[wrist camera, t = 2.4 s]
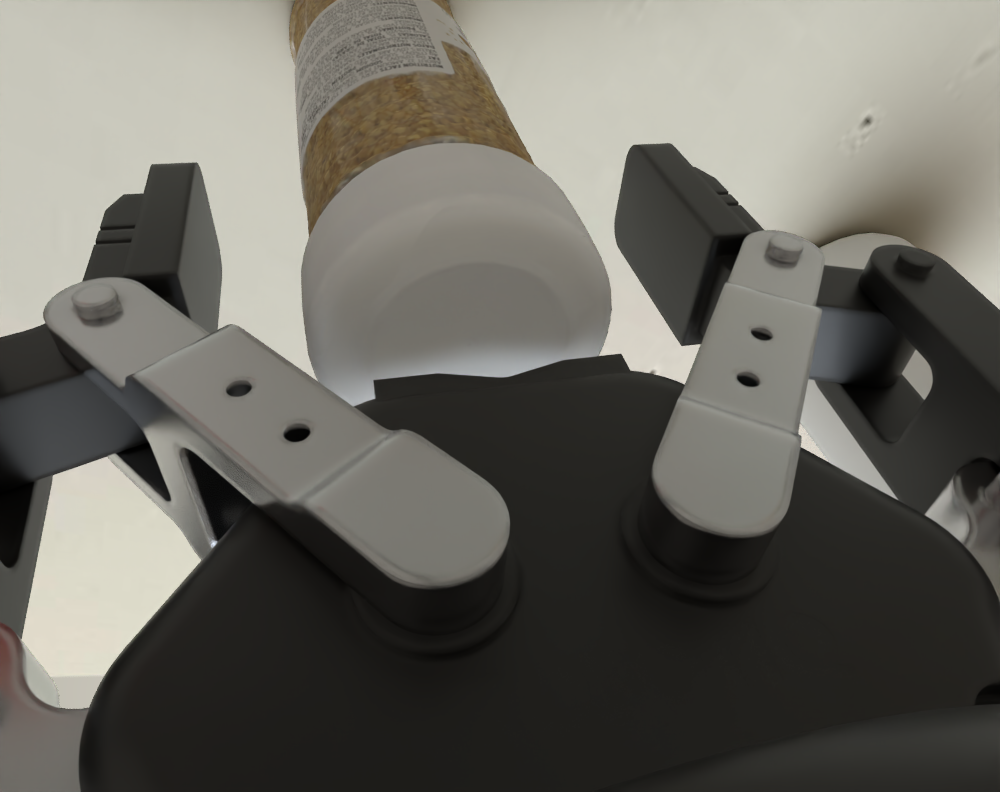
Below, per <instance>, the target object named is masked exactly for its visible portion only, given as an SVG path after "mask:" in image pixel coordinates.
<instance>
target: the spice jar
mask: <svg viewBox="0 0 1000 792" xmlns="http://www.w3.org/2000/svg"><path fill="white" fill-rule="evenodd" d="M289 37H290V49H291V54H292V58H293V61H294V64H295V92H296V113H297V129H298V145H299V158H300V171H301V184H302V192H303V198H304V202H305V205H306V208H307V216H308V230H309V239H308V242H307V246H306V249H305V253H304V256H303V263H302V270H301V285H302V307H303V317H304V325H305V334H306V341H307V348H308V355H309V358H310V361H311V364H312V367H313V370H314V373H315V375H316V378H317V380H318V381H319V383H321V384H322V385H323V386H325V387H326V388H328V389H329V390H331V391H332V392H333V393H335V394H336V395H338V396H339V397H341V398H342V399H343V400H345V401H346V402H348V403H349V404H350V405H352V406H353V407H354V406H356V405H359V404H361V403H363V402H366V401H369V400H372V399H375V394H374V381H373V380H378V379H388V378H397V377H407V376H416V375H426V374H435V373H442V374H456V375H471V376H486V377H510V376H513V375H517V374H520V373H523V372H526V371H529V370H533V369H536V368H539V367H542V366H546V365H549V364H552V363H555V362H558V361H562V360H568V359H577V358H587V357H596V356H599V354H600V352H601V349H602V347H603V345H604V342H605V339H606V336H607V333H608V328H609V324H610V316H611V311H612V306H611V288H610V283H609V278H608V275H607V272H606V269H605V266H604V263H603V261H602V258H601V256H600V254H599V252H598V250H597V248H596V246H595V244H594V243H593V241H592V239H591V237H590V235H589V233H588V231H587V229H586V228H585V226H584V224H583V223H582V221H581V219H580V218H579V216H578V214H577V213H576V211H575V210H574V208H573V206H572V205H571V203H570V202H569V200H568V199H567V197H566V195H565V194H564V192H563V191H562V190H561V189H560V187H559V186H558V185H557V184H556V183H555V182H554V181H553V180H552V179H551V178H550V177H549V176H548V175H547V174H545V173H544V172H543V171H542V170H540V169H539V168H538V167H536V166H535V165H534V163H533V161H532V159H531V156H530V155H529V153H528V152H527V150H526V147H525V146H524V144H523V143H522V141H521V139H520V137H519V135H518V133H517V131H516V130H515V128H514V126H513V124H512V122H511V120H510V118H509V116H508V114H507V111H506V109H505V107H504V105H503V104H502V102H501V100H500V99H499V97H498V96H497V94H496V91H495V89H494V87H493V84H492V82H491V80H490V78H489V76H488V74H487V72H486V71H485V69H484V67H483V66H482V64H481V62H480V60H479V59H478V57H477V55H476V53H475V52H474V50H473V48H472V46H471V45H470V43H469V41H468V39H467V38H466V36H465V35H464V33H463V31H462V30H461V28H460V27H459V26H458V24H457V23H456V22H455V20H454V18H453V15H452V13H451V10H450V7H449V5H448V3H447V1H446V0H296V1H295V4H294V6H293V10H292V14H291V19H290V27H289Z"/></svg>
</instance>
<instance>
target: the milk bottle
mask: <svg viewBox="0 0 1000 792" xmlns="http://www.w3.org/2000/svg"><path fill="white" fill-rule="evenodd" d="M883 245H905V246H911V247H915V246H914V245H912V244H911V243H909V242H908V241H906V240H904V239H902V238H900V237H896V236H892V235H887V234H878V233H865V234H855V235H852V236H849V237H845V238H841V239H838V240H836V241H834V242H831V243H829V244H827V245H824V246H822V247H820V248H819V249H820V250H821V251H822V252H823V254H824V257H825V264H824V265H829V266H838V267H846V268H855V269H863V270H864V268H865V266H866V264H867V262H868V260H869V257H870V255H871V253H872V252H873V250H874V249H876V248H877V247H880V246H883ZM915 248H916V247H915ZM902 375H903V376H904V377H905V378H906V379H907V380H908V382H909V383H910V384H911V385H912V386H913V387H914V389H915V390H916V391H917V392H918V393H919V394H920V396H921V397H922V398H923V399H924V400H925V398H926V397H927V395H928V394H929V392H930V390H931V387H932V382H933V377H932V371H931V368H930V366H929V364H928V362H927V361H926V360H925V359H924V358H923V357H922V355H921V354H920V353H919V352H918V351H917V350H915V352H914V354H913V355H912V357H911V359H910V360H909V362H908V364H907V366H906V367H905V369H904V371H903V372H902ZM800 424H801V425H802V426H803V428H804V429H805V430H806V432H807V433H808V435H809V436H810V437H811V439H812V440H813V441H814V443H815V444H816V445H817V447H818V448H819V450H820V451H821V452H822V454H823V455H824V456H825V458H826V459H827V460H828V462H829V463H831V464H833V465H834V466H836V467H838V468H840V469H842V470H844V471H845V472H847V473H849V474H851V475H853V476H855V477H856V478H858V479H860V480H862V481H864V482H866V483H867V484H869V485H871V486H873V487H875V488H877V489H878V490H880V491H882V492H884V493H886V494H888V495H889V496H891V497H893V498H895V499H897V498H896V496H895V495H894V493H893V492H892V491H891V489H890V488H889V486H888V485H887V484H886V482H885V481H884V479H883V478H882V477H881V475H880V474H879V472H878V471H877V470H876V468H875V467H874V465H873V464H872V463H871V461H870V460H869V458H868V457H867V456H866V454H865V453H864V451H863V450H862V449H861V447H860V446H859V444H858V443H857V442H856V440H855V439H854V437H853V436H852V435H851V433H850V432H849V430H848V429H847V428H846V426H845V425H844V423H843V422H842V421H841V419H840V418H839V416H838V415H837V414H836V412H835V411H834V409H833V408H832V407H831V405H830V404H829V402H828V401H827V400H826V398H825V397H824V395H823V394H822V393H821V391H820V390H819V388H818V387H817V385H816V383H815V380H810V379H809V380H808V385H807V390H806V395H805V400H804V405H803V410H802V415H801V420H800ZM897 500H898V499H897Z"/></svg>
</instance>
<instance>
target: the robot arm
mask: <svg viewBox="0 0 1000 792" xmlns="http://www.w3.org/2000/svg"><path fill="white" fill-rule="evenodd" d="M100 229H101V231H99V232H98V235H97V238H96V245H94V247H93V251H92V254H91V257H90V260H89V263H88V266H87V269H86V272H85V275H84V278H83V281H82V282H80V283H78V284H75V285H72V286H70V287H68V288H66V289H64V290H62V291H61V292H59V293H58V294H56V295H55V296H54V297H53V298H52V299H51V300H50V301H49V302H48V303H47V305H46V306H45V309H44V312H43V318H44V320H45V324H43V325H41V326H38V327H35V328H33V329H30V330H26V331H23V332H20V333H16V334H12V335H8V336H4V337H1V338H0V792H1000V310H999V309H998V308H997V307H996V306H995V305H994V304H992V303H991V302H990V301H989V300H988V299H987V298H986V297H985V296H984V295H982V294H981V293H980V292H979V291H978V290H977V289H976V288H975V287H974V286H972V285H971V284H970V283H969V282H968V281H967V280H966V279H965V278H964V277H963V276H961V275H960V274H959V273H958V272H957V271H956V270H955V269H954V268H953V267H951V266H950V265H949V264H948V263H947V262H945V261H944V260H943V259H941V258H939V257H938V256H936V255H934V254H932V253H929V252H927V251H924V250H922V249H919V248H915V247H911V246H905V245H883V246H880V247H877V248H876V249H874V250H873V252H872V253H871V255H870V257H869V260H868V262H867V264H866V266H865V268H864V270H863V269H855V268H846V267H838V266H829V265H824V264H825V257H824V254H823V252H822V251H821V250H820V249H819V248H818V247H817V246H816V245H815V244H813V243H812V242H810V241H808V240H806V239H804V238H802V237H800V236H797V235H794V234H791V233H787V232H782V231H774V230H764V229H763V228H762V227H761V226H760V225H759V224H758V223H757V222H756V221H755V220H754V219H753V218H752V217H751V215H750V214H749V213H748V212H747V211H746V210H745V209H744V208H743V207H742V206H741V205H738V202H737V201H736V200H735V198H734V197H733V196H732V195H731V194H729V195H728V191H727V190H726V189H725V188H724V187H723V186H722V185H721V184H720V182H719V181H718V180H717V179H716V178H714V177H712V176H710V175H709V174H707V173H705V172H703V171H701V170H700V169H698V168H696V167H693V166H692V165H691V164H690V163H689V162H688V161H687V160H686V159H685V158H684V157H683V155H682V154H681V153H680V152H679V151H678V150H677V149H676V148H675V147H674V146H673V145H672V144H670V143H665V144H642V145H633V146H632V147H631V148H630V150H629V152H628V154H627V158H626V162H625V168H624V173H623V178H622V184H621V189H620V194H619V200H618V205H617V210H616V216H615V238H616V242H617V245H618V248H619V249H620V251H621V253H622V254H623V256H624V257H625V259H626V260H627V262H628V263H629V265H630V267H631V268H632V270H633V271H634V273H635V274H636V276H637V277H638V279H639V281H640V282H641V284H642V285H643V287H644V288H645V290H646V291H647V293H648V295H649V296H650V298H651V299H652V301H653V302H654V304H655V305H656V307H657V309H658V310H659V312H660V313H661V315H662V316H663V318H664V320H665V321H666V323H667V324H668V326H669V327H670V329H671V330H672V332H673V334H674V335H675V337H676V338H677V340H678V341H679V343H680V344H681V346H686V345H696V344H701V345H700V348H699V350H698V353H697V356H696V358H695V361H694V363H693V366H692V368H691V371H690V373H689V376H688V378H687V381H686V383H685V385H684V384H682V383H680V382H677V381H675V380H672V379H669V378H666V377H662V376H658V375H654V374H650V373H644V372H637V371H630V369H629V367H628V366H627V364H626V362H625V360H624V358H623V356H622V355H621V354H615V355H605V356H596V357H587V358H577V359H568V360H562V361H558V362H555V363H552V364H549V365H546V366H542V367H539V368H536V369H533V370H529V371H526V372H523V373H520V374H517V375H513V376H510V377H486V376H471V375H456V374H442V373H435V374H426V375H416V376H407V377H397V378H388V379H378V380H373V381H374V394H375V399H372V400H369V401H366V402H363V403H361V404H359V405H356V406H354V407H353V406H352V405H350V404H349V403H348V402H346V401H345V400H343V399H342V398H341V397H339V396H338V395H336V394H335V393H333V392H332V391H331V390H329V389H328V388H326V387H325V386H323V385H322V384H321V383H319V382H318V381H316V380H315V379H313V378H312V377H311V376H309V375H308V374H306V373H305V372H303V371H302V370H301V369H299V368H298V367H296V366H295V365H294V364H292V363H291V362H289V361H288V360H286V359H285V358H284V357H282V356H281V355H279V354H278V353H276V352H275V351H274V350H272V349H271V348H269V347H268V346H266V345H265V344H264V343H262V342H261V341H259V340H258V339H256V338H255V337H254V336H252V335H251V334H249V333H248V332H247V331H245V330H244V329H242V328H240V327H239V326H237V325H233V324H229V325H226V326H225V327H223V328H221V329H219V330H218V318H219V306H220V294H221V282H222V264H221V256H220V249H219V244H218V240H217V235H216V231H215V227H214V223H213V218H212V214H211V210H210V206H209V202H208V197H207V193H206V189H205V185H204V180H203V176H202V173H201V170H200V167H199V165H198V163H174V164H152V165H151V167H150V171H149V175H148V179H147V183H146V186H145V190H144V194H125V195H123V196H121V197H120V198H119V199H118V200H117V201H116V202H115V203H113V204H112V205H111V206H110V207H109V208H108V209H107V210H106V211H105V214H104V217H103V220H102V223H101V226H100ZM915 350H917V351H918V352H919V353H920V354H921V355H922V357H923V358H924V359H925V360H926V361H927V362H928V364H929V366H930V368H931V371H932V377H933V382H932V387H931V390H930V392H929V394H928V395H927V397H926V398H925V400H924V399H923V398H922V397H921V396H920V394H919V393H918V392H917V391H916V390H915V389H914V387H913V386H912V385H911V384H910V383H909V382H908V380H907V379H906V378H905V377H904V376H903V375H902V372H903V371H904V369H905V367H906V366H907V364H908V362H909V360H910V359H911V357H912V355H913V354H914V352H915ZM809 379H810V380H815V383H816V385H817V387H818V388H819V390H820V391H821V393H822V394H823V395H824V397H825V398H826V400H827V401H828V402H829V404H830V405H831V407H832V408H833V409H834V411H835V412H836V414H837V415H838V416H839V418H840V419H841V421H842V422H843V423H844V425H845V426H846V428H847V429H848V430H849V432H850V433H851V435H852V436H853V437H854V439H855V440H856V442H857V443H858V444H859V446H860V447H861V449H862V450H863V451H864V453H865V454H866V456H867V457H868V458H869V460H870V461H871V463H872V464H873V465H874V467H875V468H876V470H877V471H878V472H879V474H880V475H881V477H882V478H883V479H884V481H885V482H886V484H887V485H888V486H889V488H890V489H891V491H892V492H893V493H894V495H895V496H896V498H897V499H898V500H897V499H895V498H893V497H891V496H889V495H888V494H886V493H884V492H882V491H880V490H878V489H877V488H875V487H873V486H871V485H869V484H867V483H866V482H864V481H862V480H860V479H858V478H856V477H855V476H853V475H851V474H849V473H847V472H845V471H844V470H842V469H840V468H838V467H836V466H834V465H833V464H831V463H829V462H827V461H825V460H823V459H822V458H820V457H818V456H816V455H814V454H812V453H811V452H809V451H807V450H805V449H803V448H801V435H799V434H798V430H799V425H800V420H801V415H802V410H803V405H804V400H805V395H806V390H807V385H808V380H809ZM107 456H108V458H109V459H110V461H111V462H112V463H113V464H114V465H115V466H116V467H117V468H118V469H120V470H121V471H122V472H123V473H124V474H125V475H126V476H127V477H128V478H129V479H130V480H131V481H132V482H133V483H134V484H135V485H136V486H137V487H138V488H139V489H140V490H141V491H142V492H144V493H145V494H146V495H147V496H148V497H149V498H150V499H151V500H152V501H153V502H154V503H155V504H156V505H157V506H158V507H159V508H160V509H161V510H162V511H163V512H164V513H165V514H166V515H168V516H169V517H170V518H171V519H172V520H173V521H174V522H175V524H176V525H177V526H178V527H179V528H180V530H181V531H182V532H183V534H184V535H185V537H186V538H187V540H188V542H189V543H190V545H191V547H192V548H193V550H194V551H195V552H196V554H197V555H198V556H199V558H200V559H201V560H202V561H201V562H200V563H199V564H198V565H197V566H196V568H195V569H194V570H193V571H192V572H191V573H190V574H189V576H188V577H187V578H186V579H185V580H184V581H183V582H182V584H181V585H180V586H179V587H178V588H177V589H176V590H175V592H174V593H173V594H172V595H171V596H170V597H169V598H168V600H167V601H166V602H165V603H164V604H163V605H162V606H161V607H160V609H159V610H158V611H157V612H156V613H155V614H154V615H153V617H152V618H151V619H150V620H149V621H148V622H147V623H146V625H145V626H144V627H143V628H142V629H141V630H140V631H139V633H138V634H137V635H136V636H135V637H134V638H133V639H132V641H131V642H130V643H129V644H128V645H127V646H126V647H125V649H124V650H123V651H122V652H121V654H120V655H119V656H118V657H117V659H116V660H115V661H114V663H113V664H112V665H111V667H110V668H109V670H108V671H107V673H106V674H105V676H104V678H103V679H102V681H101V683H100V685H99V687H98V689H97V691H96V693H95V695H94V697H93V699H92V702H91V704H90V707H89V708H84V709H65V708H60V705H59V693H58V689H57V687H56V685H55V683H54V681H53V679H52V678H51V677H50V676H49V674H48V673H47V672H46V671H45V669H44V668H43V667H42V665H41V664H40V663H39V662H38V660H37V659H36V658H35V657H34V655H33V654H32V653H31V652H30V650H29V649H28V648H27V646H26V645H25V644H24V643H23V641H22V640H21V639H22V634H23V629H24V624H25V618H26V613H27V608H28V603H29V598H30V593H31V588H32V582H33V577H34V572H35V567H36V562H37V557H38V551H39V546H40V541H41V536H42V531H43V526H44V521H45V515H46V510H47V505H48V500H49V495H50V490H51V485H52V477H53V475H55V474H58V473H60V472H63V471H66V470H69V469H72V468H75V467H78V466H81V465H84V464H86V463H89V462H92V461H95V460H98V459H101V458H104V457H107Z"/></svg>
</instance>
